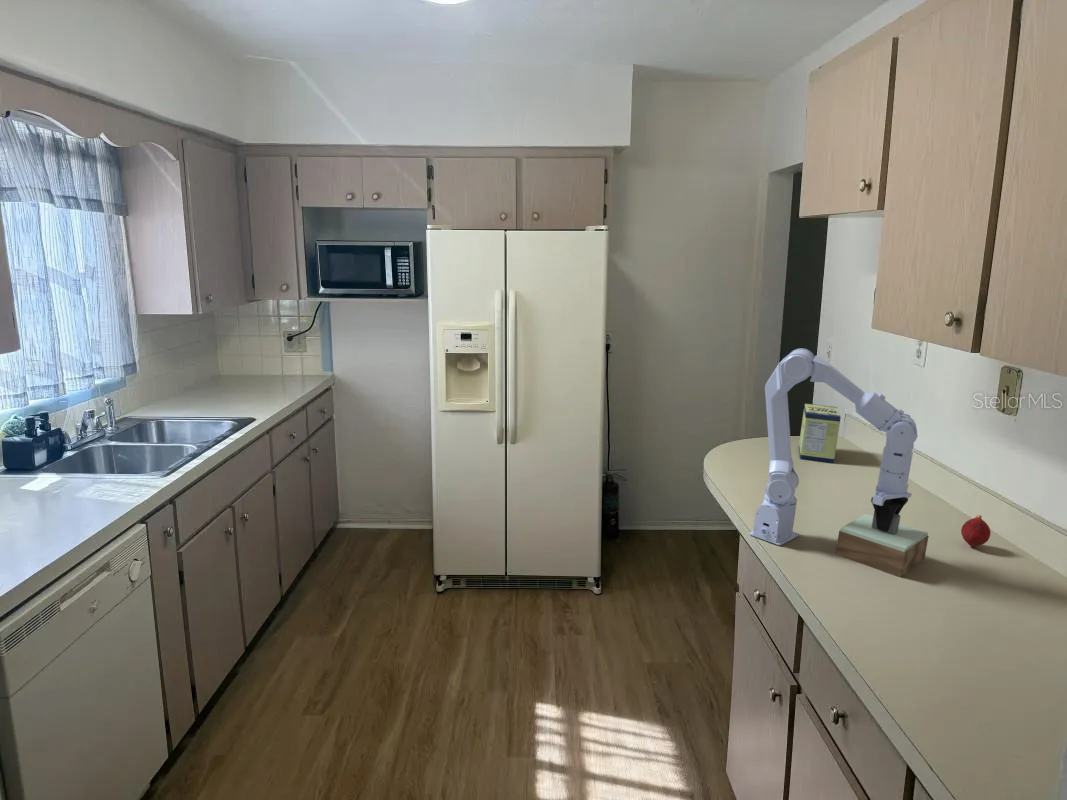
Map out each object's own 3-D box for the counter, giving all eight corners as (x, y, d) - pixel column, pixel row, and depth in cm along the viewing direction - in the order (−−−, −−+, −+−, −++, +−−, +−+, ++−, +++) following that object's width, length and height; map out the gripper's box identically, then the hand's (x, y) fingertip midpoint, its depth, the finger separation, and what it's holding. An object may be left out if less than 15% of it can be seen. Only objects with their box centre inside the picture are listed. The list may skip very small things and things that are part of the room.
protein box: (830, 451, 243) (837, 406, 240) (834, 464, 229) (841, 416, 225) (798, 446, 246) (804, 402, 243) (799, 459, 232) (806, 412, 228)
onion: (989, 554, 166) (996, 521, 164) (961, 549, 167) (967, 517, 166) (983, 544, 171) (990, 513, 169) (956, 540, 173) (962, 508, 171)
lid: (904, 552, 151) (908, 530, 150) (840, 531, 160) (843, 510, 159) (927, 535, 160) (931, 515, 159) (865, 516, 169) (868, 497, 168)
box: (900, 577, 152) (905, 552, 150) (835, 554, 161) (839, 531, 160) (924, 559, 161) (928, 535, 160) (861, 538, 171) (865, 516, 170)
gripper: (901, 481, 149) (890, 542, 152) (926, 468, 159) (915, 526, 162) (866, 472, 154) (857, 531, 157) (893, 460, 164) (883, 516, 167)
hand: (884, 528), depth 160 cm, fingers closed on lid, 2 cm apart
